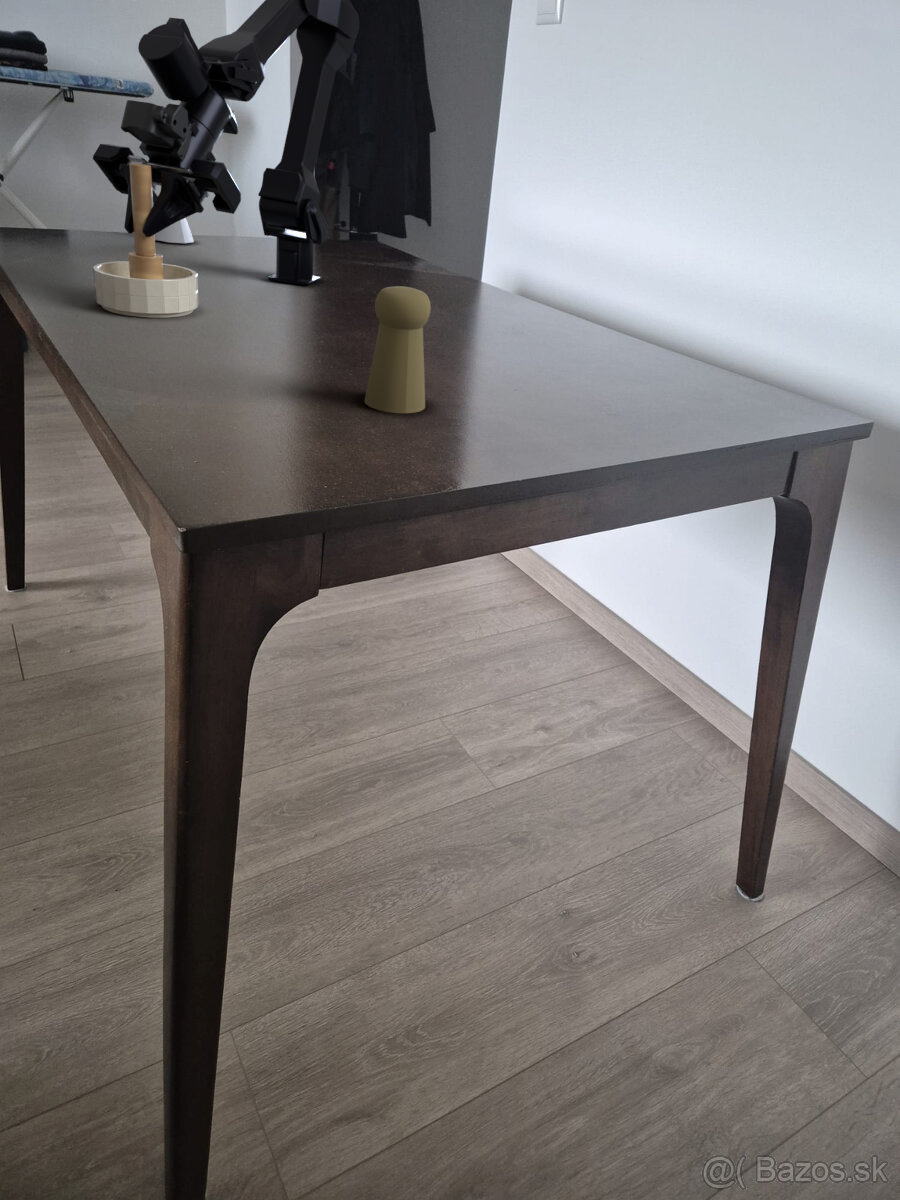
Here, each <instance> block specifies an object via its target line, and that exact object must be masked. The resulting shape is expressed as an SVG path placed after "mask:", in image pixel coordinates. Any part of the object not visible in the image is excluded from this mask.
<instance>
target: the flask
mask: <svg viewBox="0 0 900 1200" xmlns="http://www.w3.org/2000/svg"><path fill="white" fill-rule="evenodd" d="M188 223H189V222H188V220H187V217H186V218H184V219H182V220H180V221H178V222H176V223H174V224H172V225H170V226H169V227H167V228H165V229H163V230H161V231H160V232H158V233H156V234H155V241H160V242H164V243H169V244H190V243H191V244H192V243H195V240H194V238H193V235H192V231H191V228H190V225H189V224H188Z"/></svg>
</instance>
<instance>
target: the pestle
mask: <svg viewBox="0 0 900 1200" xmlns="http://www.w3.org/2000/svg"><path fill="white" fill-rule="evenodd" d="M129 165H130V181H131V196H132V212H133V227H134V232H133V241H134V242H133V243H134V251H130V252H128V254H127V256H128V261H129V271H130V278H140V279H159V280H163V279H164V275H163V264H164V257H163V255H162V254H161V253H157V251H156V240H155V234H154V235H153V236H151V237H146V236H145V235H144V233H143V232H142V230H143V227H144V224H145V222H146V219H147V217H148V215H149V213H150V211H151V209H152V207H153V195H152V176H151V165H147V164H139V163H130V164H129Z"/></svg>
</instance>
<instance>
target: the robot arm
mask: <svg viewBox="0 0 900 1200" xmlns="http://www.w3.org/2000/svg"><path fill="white" fill-rule="evenodd" d="M359 30H360V18H359V14H358V12H357V11H356V9H355V8H354V6H353V4H352V2H351V1H350V0H264V1H263V2H262V3H261V4H260V5H259V6H258V7H257V8H256V10H254V11H253V13H252V14H251V15H250V16H249V17H248V18H246V20H245V21H244V22H243V23H242V24H241V25H240V26H239V28H237V29H236V30H235V31H234V32H231V33H230V34H226V35H222V36H219V37H215V38H213V39H212V40H210V41H208V42H206V43H205V44H203V45H202V46H201V47H198V45H197V44H196V42H195V40H194V38H193V35H192V33H191V30H190V28H189V26H188V24H187V22H186V21H185V18H178V17H168V19H167V21H166V23H164V24H160V25H158V26H156V27H154V28H152V29H151V30H150V31H148V32H147V33H144V34H143V35H142V37H141V38H140V40H139V42H138V45H137V46H138V47H137V48H138V49H137V50H138V53H139V54H140V57H141V58H142V60H143V61H144V63H145V64H146V67H147V68H148V69H149V71H150V72H151V74H152V76H153V78H154V79H155V81H156V83H157V85H158V86H159V88H160V89H161V91H162V93H163V95H164V96H165V97H166V98H167V99H168V100H171V101H179V104H175V103H168V104H166V106H163V105H157V104H154V103H153V102H145V101H139V100H132V99H128V100H126V103H125V106H124V111H123V115H122V119H121V123H120V124H121V125H120V129H121V131H123V132H124V133H128V134H130V135H131V136H132V137H134V138H135V139H136V140H138V141H139V142H141V143H140V144H139V146H138V148H139V150H140V151H141V153H142V154H143V155H144V156H147V157H148V160H146V159H145V158H144V157H142V156H138V155H135V154H134V152H133V151H132V150H131V148H130V147H129V146H122V145H115V144H109V143H100V144H99V145H98V147H97V148H96V150H95V152H94V153H93V155H92V160H93V161H94V163H95V164H96V165H97V167H98V168H99V169H100V170H101V171H102V173H103V174H104V176H105V177H106V179H107V180H108V181H109V182H110V184H111V185H112V186H113V188H114V189H115V190H116V191H117V192H118V193H120V194H123V195H127V201H126V210H125V218H124V227H123V228H124V230H125V231H126V232H127V233H128V234H134V227H133V212H132V196H131V181H130V165H129V164H130V163H139V164H147V165H151V176H152V195H153V207H152V209H151V211H150V213H149V215H148V217H147V219H146V222H145V224H144V227H143V230H142V232H143V233H144V235H145V236H146V237H151V236H153V235H154V234H156V233H158V232H160V231H161V230H163V229H165V228H167V227H169V226H170V225H172V224H174V223H176V222H178V221H180V220H182V219H184V218H186V219H187V218H189V217H191V216H193V215H194V214H201V213H203V212H204V210H205V208H204V206H203V205H202V204H203V202H204V200H205V198H208V197H209V196H210V195H209V193H212V194H214V197H213V199H212V201H211V203H212V205H213V207H214V210H215V211H216V212H221V213H226V214H231V215H234V214H235V213H236V211H237V209H238V208H239V206H240V204H241V200H242V193H241V189H240V188H239V187H238V185H237V184H236V181H235V179H234V178H233V176H232V174H231V172H230V171H229V170H228V168H227V166H226V165H225V162H221V161H217V158H216V157H215V155H214V153H213V150H214V149H215V146H216V145H217V143H218V141H219V139H220V138H221V136H222V135H223V134H230V135H235V136H236V135H238V134H239V126H238V125H239V124H238V122H237V120H236V113H235V111H234V110H233V109H232V110H231V108H230V105H228V103H227V101H226V100H228V101H229V100H230V101H237V102H238V101H239V102H244V103H246V102H251V100H252V99H254V98H255V95H256V94H257V92H258V91H259V89H260V88H261V85H262V84H263V82H264V80H265V79H266V78H265V77H266V76H265V75H266V73H265V67H266V64H267V63H268V61H269V60H270V59H271V58H272V57H273V56H274V54H275V53H277V51H279V49H280V48H281V47H282V46H283V45H284V43H286V42H287V40H288V39H289V38H290V37H291V35H293V33H294V32H295V38H296V41H297V45H298V48H299V51H300V55H301V63H300V69H299V73H298V78H297V82H296V88H295V92H294V97H293V102H292V107H291V110H290V111H291V112H290V117H289V121H288V125H287V132H286V135H285V140H284V144H283V145H284V146H283V150H282V155H281V159H280V162H279V163H277V165H276V166H275V167H274V168H271V167H266V168H265V170H264V171H263V174H262V182H261V186H260V190H259V191H258V194H257V196H258V197H259V200H258V212H259V217H260V220H261V226H262V230H263V235H264V236H267V237H273V238H274V237H276V249H275V250H276V251H275V252H276V253H275V254H276V255H275V256H276V257H275V273H274V274H272V275H269V276H267V277H268V278H267V279H268V280H269V281H274V282H279V283H280V282H281V283H288V284H293V285H301V286H310V285H312V284H314V283H317V282H318V281H320V280H321V276H316V275H314V256H315V255H314V254H315V253H314V252H315V244H316V245H323V244H324V243H327V240H328V235H329V231H330V228H329V226H328V223H327V222H326V219H325V217H324V215H323V213H322V210H321V209H320V207H319V205H320V197H321V192H320V191H319V187H318V184H317V179H316V177H315V169H316V168H315V167H316V165H317V161H318V155H319V151H320V146H321V141H322V137H323V131H324V127H325V124H326V118H327V113H328V110H329V109H328V108H329V104H330V99H331V94H332V90H333V86H334V81H335V76H336V74H337V73H336V72H337V71H338V70H339V69H340V68H341V67H342V66H343V65H344V63H345V62H347V60H348V59H349V58H350V57H351V55H352V52H353V49H354V48H353V47H354V45H355V42H356V39H357V36H358V34H359ZM157 186H160V191H159V194H158V195H157V193H156V192H155V191H156V190H157V188H156V187H157Z"/></svg>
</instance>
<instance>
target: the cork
mask: <svg viewBox="0 0 900 1200" xmlns="http://www.w3.org/2000/svg"><path fill="white" fill-rule="evenodd" d="M431 309H432V308H431V300H430V298H429V296H428V294H426V293H425V291H422V290H419V289H416V288H414V287H409V286H403V285H401V286H400V285H396V286H388V287H384V288H382V289H381V290H380V291H379V292H378V294H377V296H376V299H375V302H374V310H375V315H376V318H377V320H378V321H379V325H378V331H377V336H376V339H375V340H376V341H375V346H374V350H373V356H372V361H371V366H370V371H369V376H368V380H367V386H366V390H365V396H364V403H365V405H367V406H368V407H369V408H372V409H375V410H377V411H380V412H386V413H390V414H391V413H392V414H415V413H418V412H422V411H423V410H425V408H426V387H425V386H426V384H425V354H424V353H425V351H424V350H425V349H424V326H425V325H426V324H427V323H428V321H429V318H430V315H431Z"/></svg>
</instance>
